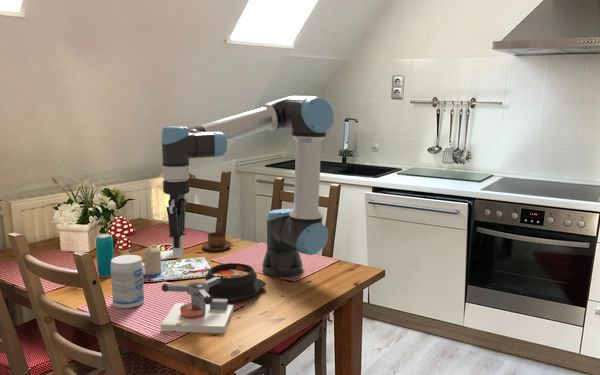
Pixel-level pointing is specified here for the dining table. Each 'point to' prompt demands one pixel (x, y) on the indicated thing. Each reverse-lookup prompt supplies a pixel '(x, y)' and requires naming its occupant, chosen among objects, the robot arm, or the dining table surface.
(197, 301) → the capstan
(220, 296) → the casserole
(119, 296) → the supplement tub
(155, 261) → the candle
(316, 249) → the robot arm
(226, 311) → the stand
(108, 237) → the beverage can
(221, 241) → the cup and saucer
